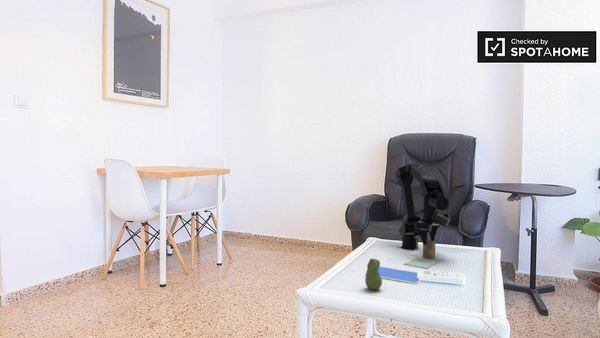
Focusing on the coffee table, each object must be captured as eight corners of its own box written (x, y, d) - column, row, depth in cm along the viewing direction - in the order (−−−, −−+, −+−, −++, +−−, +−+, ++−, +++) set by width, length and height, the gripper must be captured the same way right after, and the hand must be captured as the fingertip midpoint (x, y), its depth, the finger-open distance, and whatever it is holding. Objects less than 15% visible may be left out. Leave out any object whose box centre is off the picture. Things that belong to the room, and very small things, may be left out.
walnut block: (422, 257, 172) (423, 241, 172) (426, 255, 175) (426, 240, 175) (431, 259, 170) (432, 243, 169) (435, 257, 173) (435, 241, 173)
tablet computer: (426, 277, 146) (426, 273, 146) (417, 286, 135) (417, 282, 135) (376, 269, 156) (376, 265, 156) (364, 277, 146) (364, 273, 145)
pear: (368, 285, 134) (368, 256, 134) (383, 288, 132) (384, 258, 131) (363, 290, 129) (363, 260, 129) (379, 293, 127) (379, 262, 126)
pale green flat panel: (403, 264, 161) (403, 263, 161) (416, 257, 172) (416, 257, 172) (427, 268, 155) (427, 268, 155) (439, 261, 166) (439, 260, 166)
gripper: (441, 211, 160) (440, 249, 160) (455, 206, 174) (454, 241, 175) (414, 208, 166) (413, 245, 167) (430, 204, 181) (429, 238, 182)
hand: (429, 242), depth 172 cm, fingers open, 9 cm apart
